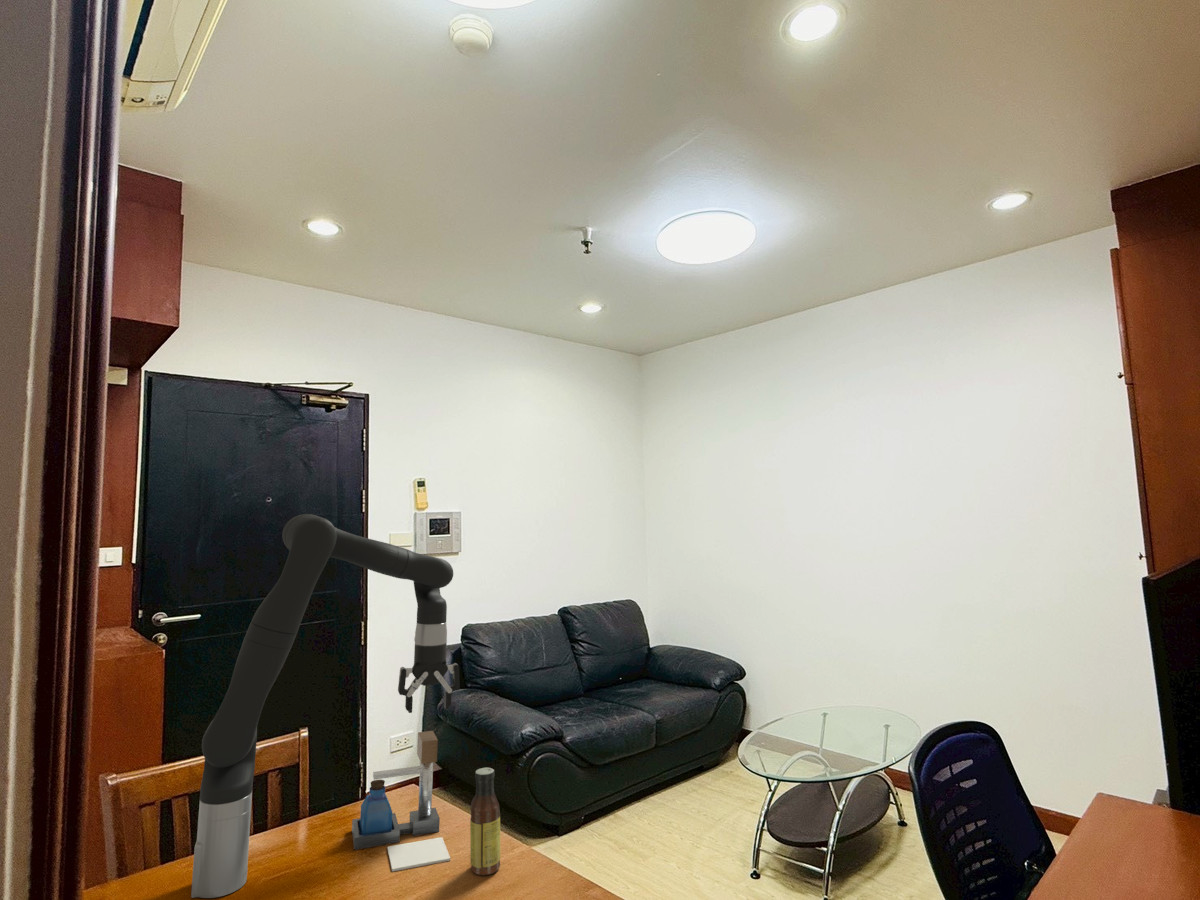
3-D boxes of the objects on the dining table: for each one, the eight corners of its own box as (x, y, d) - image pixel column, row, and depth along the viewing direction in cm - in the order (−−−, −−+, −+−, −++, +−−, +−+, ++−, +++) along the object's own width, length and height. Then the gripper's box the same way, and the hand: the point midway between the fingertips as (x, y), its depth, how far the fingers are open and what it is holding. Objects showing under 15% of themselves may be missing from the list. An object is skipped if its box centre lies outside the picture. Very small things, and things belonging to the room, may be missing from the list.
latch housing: (354, 850, 146) (354, 835, 146) (351, 830, 155) (352, 817, 155) (440, 835, 153) (440, 821, 153) (433, 817, 162) (434, 804, 162)
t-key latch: (372, 828, 149) (376, 747, 151) (370, 815, 155) (373, 737, 157) (434, 818, 154) (437, 739, 156) (430, 806, 161) (432, 730, 162)
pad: (392, 871, 137) (392, 869, 137) (387, 849, 146) (387, 846, 147) (450, 860, 142) (450, 858, 142) (442, 839, 151) (442, 837, 151)
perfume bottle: (359, 833, 154) (362, 779, 155) (387, 828, 156) (389, 775, 157) (362, 845, 148) (364, 789, 149) (391, 840, 151) (393, 785, 152)
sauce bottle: (503, 862, 142) (505, 765, 144) (495, 878, 135) (498, 777, 137) (473, 860, 142) (476, 764, 144) (464, 876, 136) (468, 775, 138)
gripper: (402, 646, 154) (399, 718, 153) (463, 642, 160) (461, 711, 158) (398, 640, 161) (395, 709, 160) (457, 636, 167) (455, 703, 165)
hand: (428, 710), depth 159 cm, fingers open, 8 cm apart
